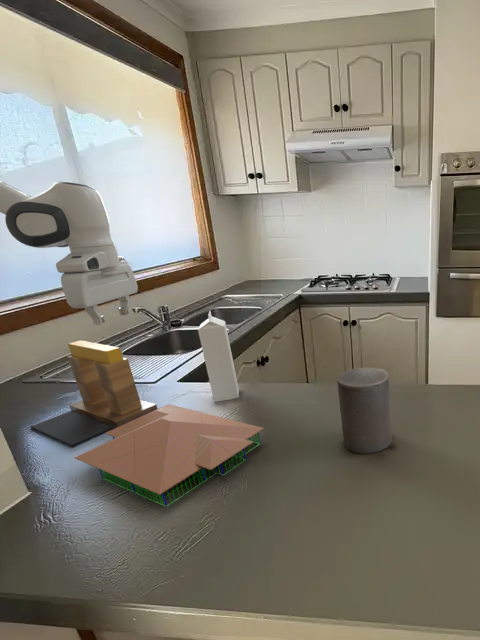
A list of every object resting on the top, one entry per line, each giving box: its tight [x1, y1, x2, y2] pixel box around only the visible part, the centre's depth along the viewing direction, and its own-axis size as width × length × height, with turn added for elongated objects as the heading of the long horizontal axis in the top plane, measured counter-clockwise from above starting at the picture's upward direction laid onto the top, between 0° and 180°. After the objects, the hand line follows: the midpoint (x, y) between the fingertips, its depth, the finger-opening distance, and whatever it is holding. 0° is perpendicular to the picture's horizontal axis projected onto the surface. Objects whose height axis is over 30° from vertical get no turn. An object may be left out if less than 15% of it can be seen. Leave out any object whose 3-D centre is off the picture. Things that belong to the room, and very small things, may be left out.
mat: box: [29, 410, 116, 448], centre depth 97 cm, size 20×9×1 cm, turn 59°
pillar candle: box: [336, 367, 393, 454], centre depth 80 cm, size 10×10×15 cm
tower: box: [67, 354, 159, 428], centre depth 103 cm, size 22×10×14 cm, turn 59°
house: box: [74, 403, 265, 508], centre depth 81 cm, size 23×33×8 cm
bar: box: [67, 339, 124, 364], centre depth 100 cm, size 18×3×3 cm, turn 59°
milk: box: [197, 310, 240, 403], centre depth 105 cm, size 6×6×22 cm
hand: (113, 319), depth 101 cm, fingers open, 8 cm apart
